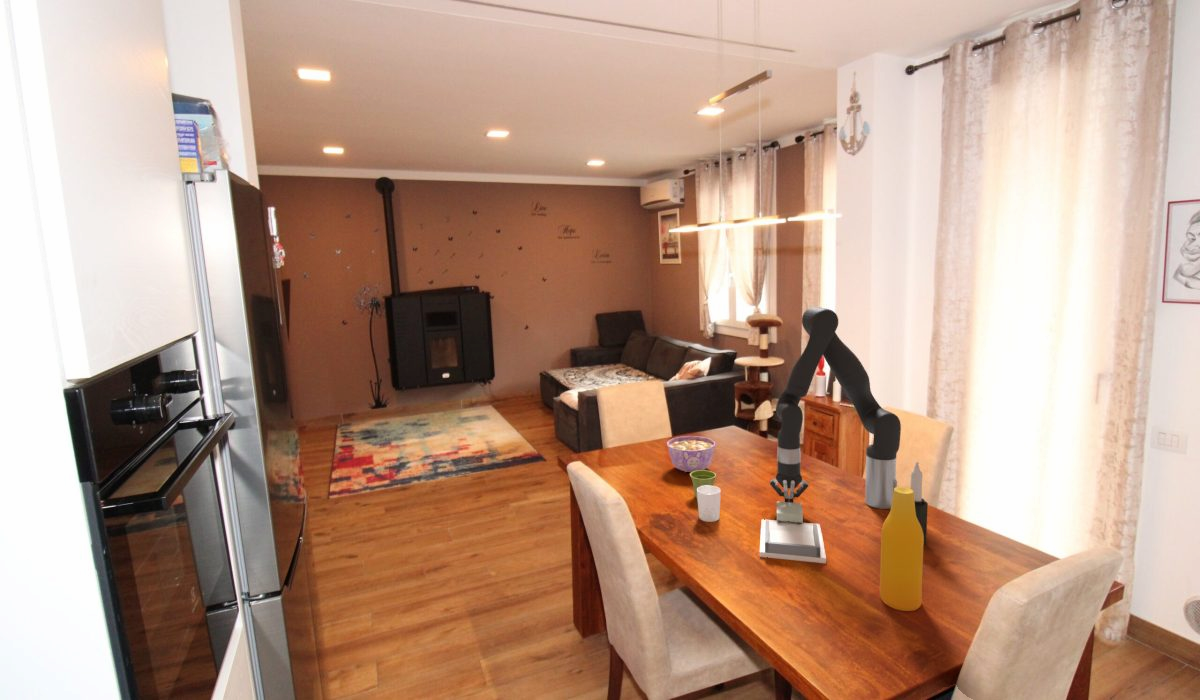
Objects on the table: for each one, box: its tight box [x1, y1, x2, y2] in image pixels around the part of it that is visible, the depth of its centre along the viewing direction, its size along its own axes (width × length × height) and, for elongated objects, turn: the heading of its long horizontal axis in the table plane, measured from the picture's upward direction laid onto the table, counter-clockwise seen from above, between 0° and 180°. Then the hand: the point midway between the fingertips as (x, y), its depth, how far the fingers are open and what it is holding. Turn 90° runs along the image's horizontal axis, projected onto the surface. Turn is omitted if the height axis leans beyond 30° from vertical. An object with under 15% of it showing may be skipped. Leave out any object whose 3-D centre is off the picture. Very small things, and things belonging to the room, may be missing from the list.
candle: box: [909, 461, 929, 546], centre depth 167 cm, size 5×5×25 cm
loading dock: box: [759, 518, 827, 564], centre depth 174 cm, size 18×25×6 cm
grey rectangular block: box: [776, 500, 804, 524], centre depth 188 cm, size 8×10×4 cm
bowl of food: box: [666, 435, 716, 473], centre depth 236 cm, size 20×20×12 cm
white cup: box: [696, 485, 722, 523], centre depth 191 cm, size 8×8×10 cm
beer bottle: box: [879, 486, 925, 612], centre depth 139 cm, size 9×9×29 cm
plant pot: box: [689, 469, 717, 499], centre depth 208 cm, size 9×9×9 cm
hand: (788, 507), depth 194 cm, fingers closed
